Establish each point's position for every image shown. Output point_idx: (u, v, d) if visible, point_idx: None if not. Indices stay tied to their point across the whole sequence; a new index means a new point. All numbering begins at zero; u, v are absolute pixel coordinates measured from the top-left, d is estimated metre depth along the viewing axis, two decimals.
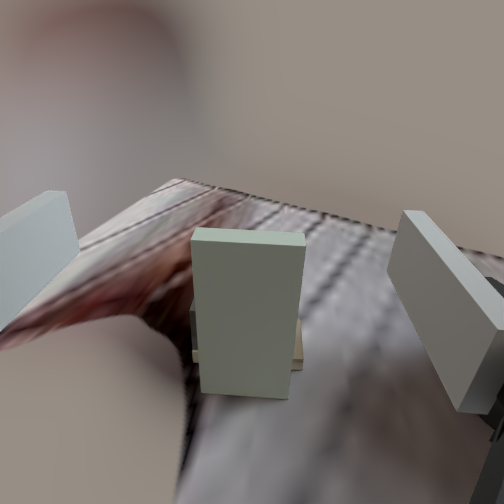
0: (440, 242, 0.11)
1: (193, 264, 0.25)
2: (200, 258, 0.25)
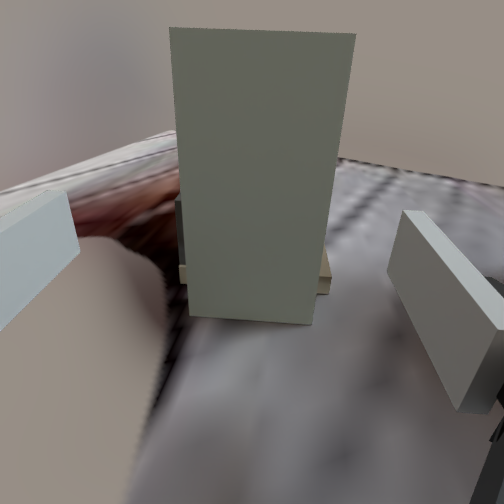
0: (440, 242, 0.11)
1: (174, 79, 0.16)
2: (185, 66, 0.16)
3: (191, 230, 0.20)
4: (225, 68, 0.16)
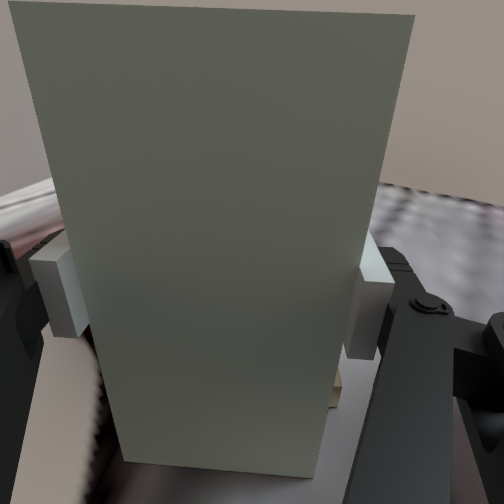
0: None
1: (39, 109, 0.08)
2: (56, 84, 0.08)
3: (110, 355, 0.12)
4: (138, 88, 0.08)
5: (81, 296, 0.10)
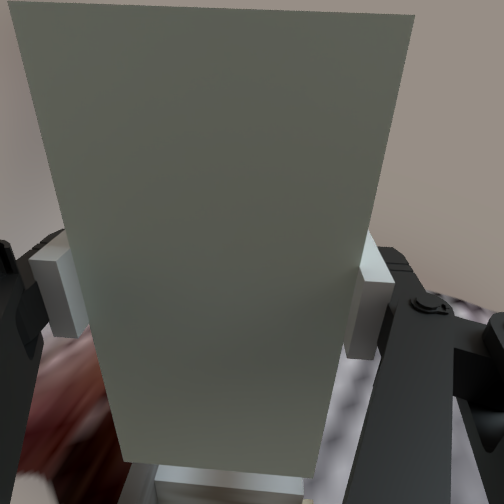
0: None
1: (38, 109, 0.08)
2: (56, 85, 0.08)
3: (110, 355, 0.12)
4: (137, 88, 0.08)
5: (81, 296, 0.10)
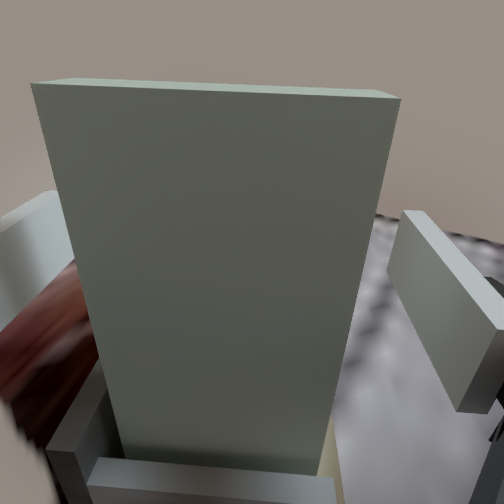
0: (440, 242, 0.11)
1: (56, 173, 0.09)
2: (73, 153, 0.08)
3: (119, 386, 0.12)
4: (148, 157, 0.08)
5: None
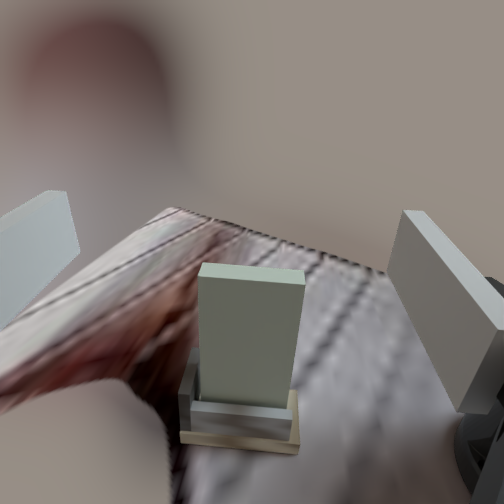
0: (440, 242, 0.11)
1: (199, 298, 0.27)
2: (206, 293, 0.27)
3: (205, 369, 0.31)
4: (230, 295, 0.27)
5: None
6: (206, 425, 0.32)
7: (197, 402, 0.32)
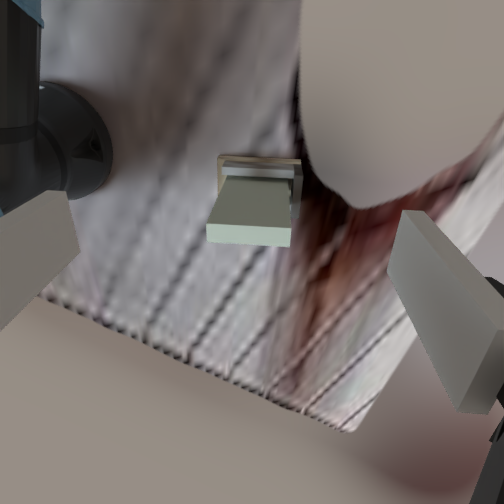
0: (440, 242, 0.11)
1: (289, 219, 0.34)
2: (284, 221, 0.34)
3: (284, 192, 0.41)
4: (265, 220, 0.34)
5: None
6: (282, 165, 0.45)
7: (289, 177, 0.44)
